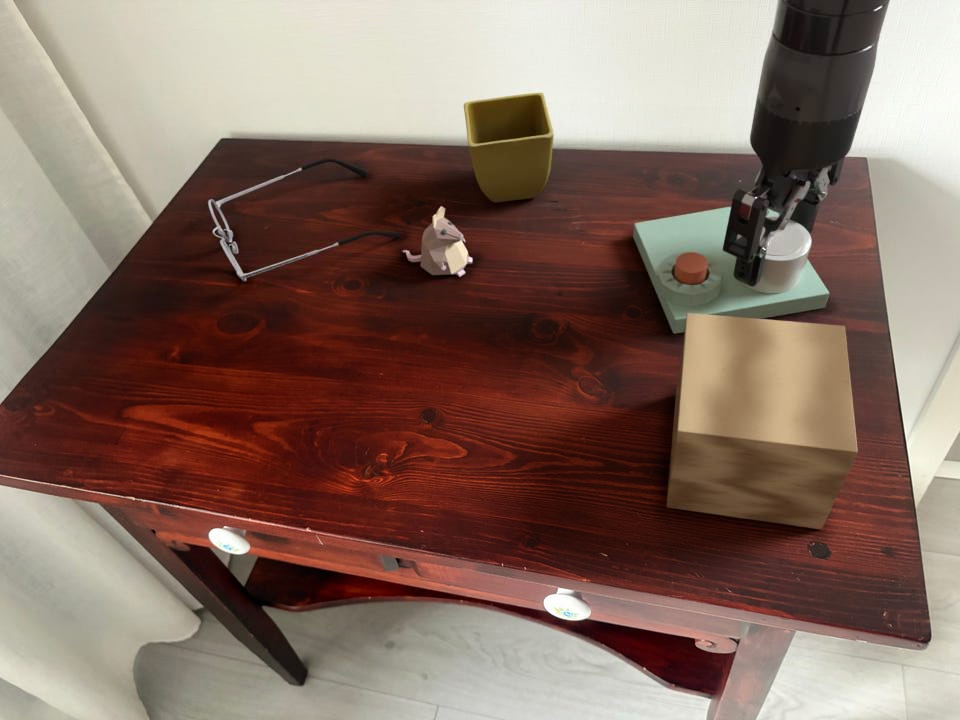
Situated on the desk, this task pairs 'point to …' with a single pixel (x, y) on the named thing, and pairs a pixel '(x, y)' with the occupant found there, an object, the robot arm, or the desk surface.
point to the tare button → (690, 268)
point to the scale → (713, 272)
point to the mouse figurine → (442, 248)
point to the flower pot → (510, 145)
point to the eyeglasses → (244, 276)
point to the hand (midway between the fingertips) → (772, 255)
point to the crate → (762, 420)
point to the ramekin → (784, 259)
